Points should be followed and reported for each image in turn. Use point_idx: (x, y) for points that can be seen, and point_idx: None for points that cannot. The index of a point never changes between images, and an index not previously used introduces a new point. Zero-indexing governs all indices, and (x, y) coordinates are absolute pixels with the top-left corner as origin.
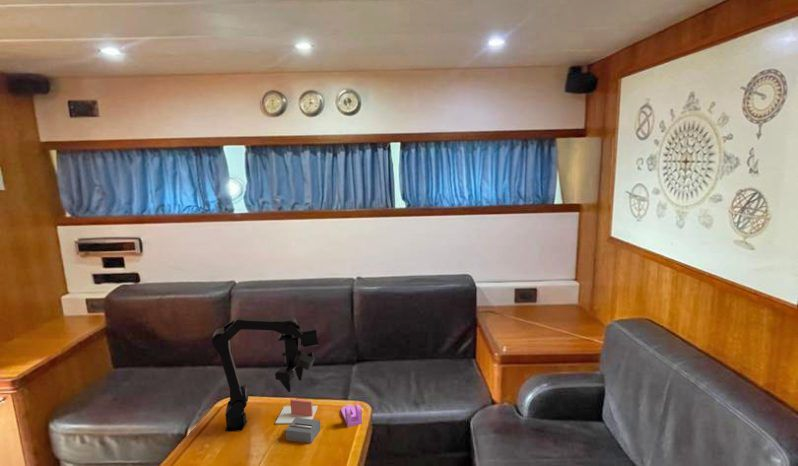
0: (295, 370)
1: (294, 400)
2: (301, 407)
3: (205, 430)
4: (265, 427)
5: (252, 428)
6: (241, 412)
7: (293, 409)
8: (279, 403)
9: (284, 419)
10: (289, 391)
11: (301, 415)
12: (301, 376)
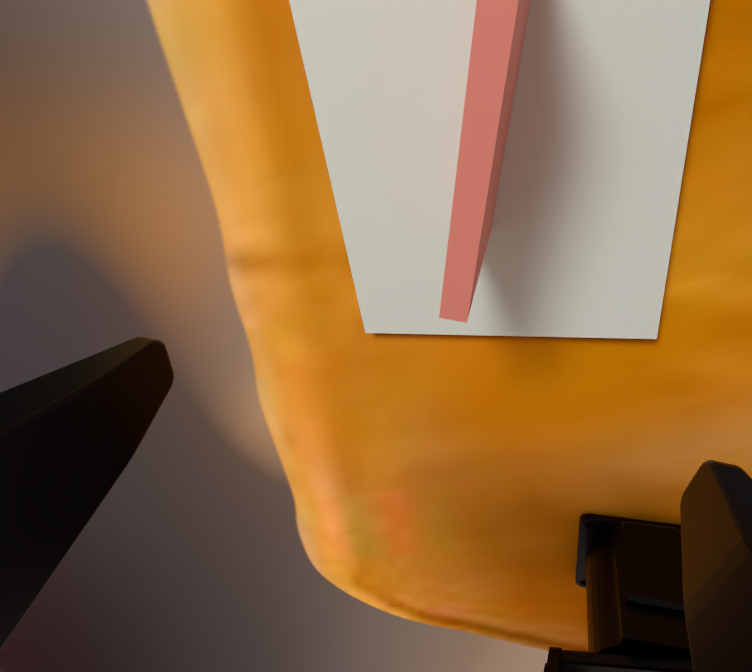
0: (17, 619)
1: (471, 266)
2: (504, 125)
3: None
4: (696, 393)
5: (691, 473)
6: (684, 652)
7: (488, 229)
8: (322, 371)
9: (598, 271)
10: (734, 489)
11: (518, 104)
12: (84, 390)
